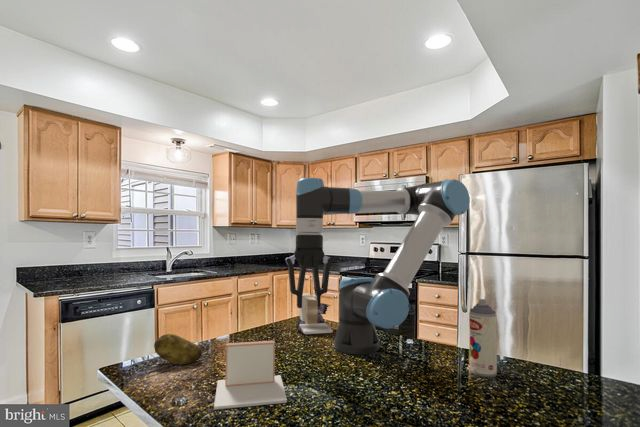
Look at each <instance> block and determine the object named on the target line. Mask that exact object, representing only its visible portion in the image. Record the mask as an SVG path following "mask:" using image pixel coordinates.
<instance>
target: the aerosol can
mask: <svg viewBox="0 0 640 427" xmlns="http://www.w3.org/2000/svg"><path fill="white" fill-rule="evenodd" d="M468 314H469V318H468V320H469V371H470V373H471V374H473V375H474V376H477V377H483V378H495V377H496V376H497V375H498V365H497V364H498V362H497V361H498V357H497V356H498V355H497V352H498V351H497V350H498V348H497V345H498V344H497V343H498V342H497V339H498V338H497V314H496V311H495V310H493V308H492V307H491V306H490V305H489V304H488V303H487V300H486V299H485V298H479V299H478V302H477V303H476V304H475V305H474V306H473V307H471V308H470V309H469V313H468Z"/></svg>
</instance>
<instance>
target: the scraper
mask: <svg viewBox="0 0 640 427" xmlns="http://www.w3.org/2000/svg"><path fill="white" fill-rule="evenodd" d="M303 295H304V296H305V321H304V322H305V323H306V324H299V327H300V328H301V330H302V331H303V332H302V334H304V335H314V334H329V333H330V334H331V333H333V332H334V330H333V328H331V327H330V326H329V325H328V323H326V322H325V323H317V312H318V300H316V299H315V298H314V297H313V296H312V295H313V294H310V292H303ZM298 309H299V312H298V314H299V315H298V316H299V317H300V308H298Z"/></svg>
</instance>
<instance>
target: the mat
mask: <svg viewBox="0 0 640 427" xmlns="http://www.w3.org/2000/svg"><path fill="white" fill-rule="evenodd" d="M284 386H285V385H284V383H283V380H282V376H281V375H280V374H278V375H274V383H263V384H252V385H240V386H228V387H225V379H218V380H217V384H216V390H215V391H216V392H215V395H214V396H215V397H214V403H213V411H214V410H215V411H216V410H224V409H235V408H244V407H245V408H246V407H255V406H256V407H257V406H263V405H265V406H266V405H267V406H268V405H276V404H277V405H278V404H285V403H288V399H287V395H286V391H285V387H284Z"/></svg>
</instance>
